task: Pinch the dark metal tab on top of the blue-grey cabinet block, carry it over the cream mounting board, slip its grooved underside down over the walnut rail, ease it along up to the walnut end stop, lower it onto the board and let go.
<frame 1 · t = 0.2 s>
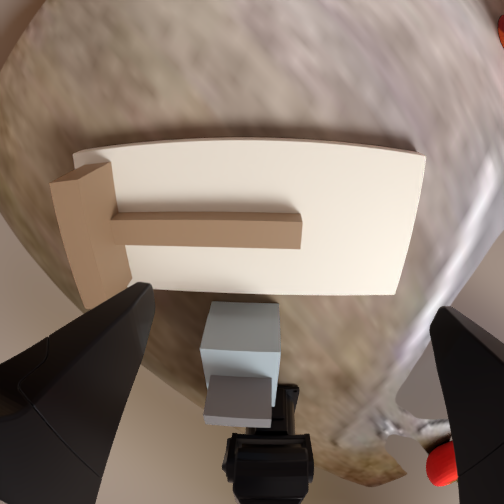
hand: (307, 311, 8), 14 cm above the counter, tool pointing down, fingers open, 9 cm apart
mounting board: (244, 216, 22), on the counter
red bell pepper: (446, 443, 47), on the counter
cabinet block: (245, 332, 28), on the counter
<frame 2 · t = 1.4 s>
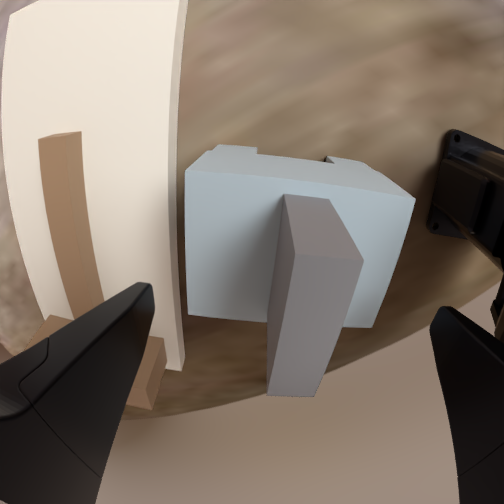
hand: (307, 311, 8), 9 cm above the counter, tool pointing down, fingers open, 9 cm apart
mounting board: (85, 192, 16), on the counter
cabinet block: (285, 205, 16), on the counter
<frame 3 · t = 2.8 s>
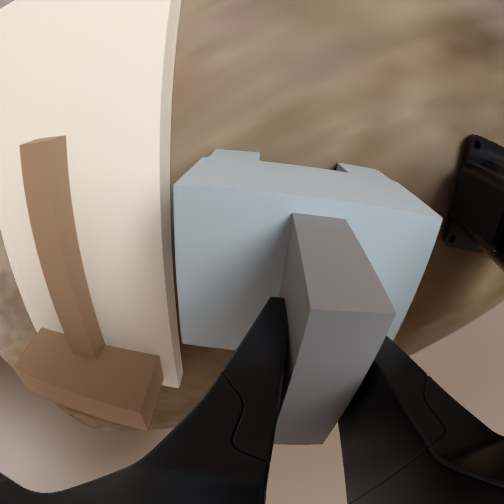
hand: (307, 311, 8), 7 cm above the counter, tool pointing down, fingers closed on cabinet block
mounting board: (73, 201, 14), on the counter
cabinet block: (291, 217, 14), on the counter, touching gripper
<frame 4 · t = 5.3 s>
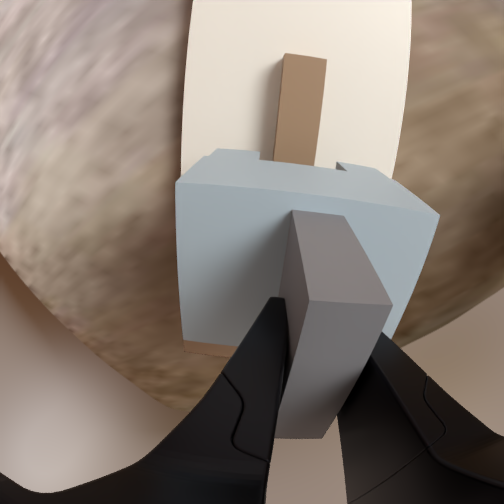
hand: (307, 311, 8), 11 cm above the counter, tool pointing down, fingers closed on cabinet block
mounting board: (292, 128, 16), on the counter
cabinet block: (290, 215, 15), point 4 cm above the counter, touching gripper
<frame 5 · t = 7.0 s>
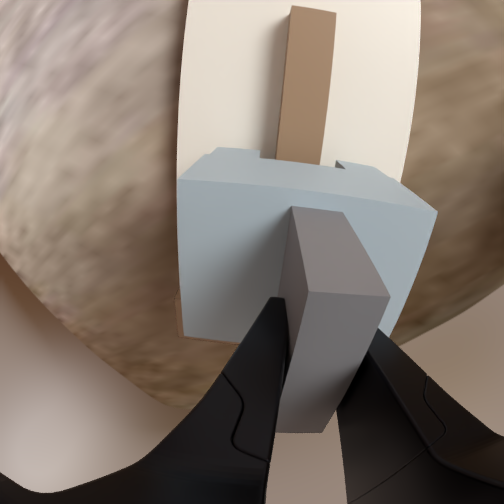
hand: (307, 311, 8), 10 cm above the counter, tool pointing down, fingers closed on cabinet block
mounting board: (299, 90, 14), on the counter
cabinet block: (290, 213, 15), point 3 cm above the counter, touching gripper
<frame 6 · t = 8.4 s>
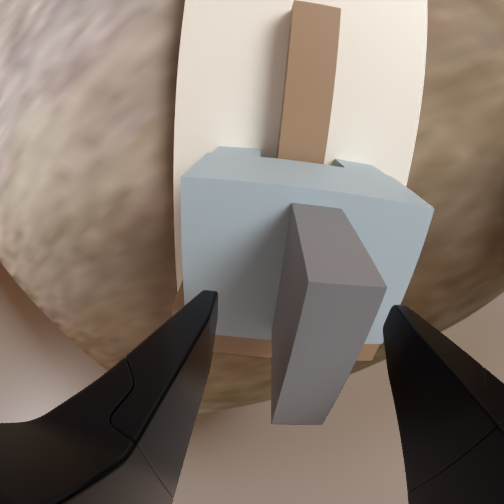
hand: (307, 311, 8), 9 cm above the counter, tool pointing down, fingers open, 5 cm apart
mounting board: (301, 89, 13), on the counter
cabinet block: (290, 211, 15), point 1 cm above the counter, touching mounting board
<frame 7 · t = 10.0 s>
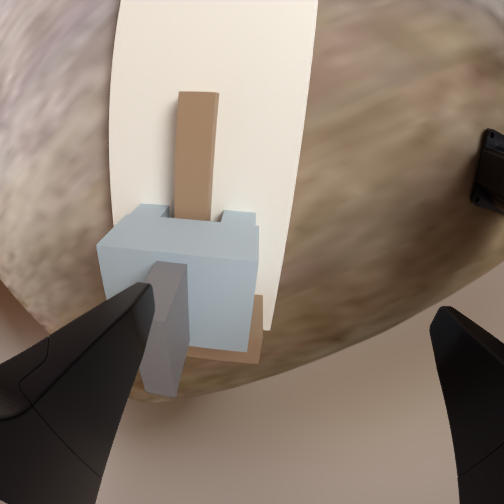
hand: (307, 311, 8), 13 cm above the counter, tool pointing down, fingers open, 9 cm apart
mounting board: (202, 153, 18), on the counter
cabinet block: (195, 248, 20), point 1 cm above the counter, touching mounting board
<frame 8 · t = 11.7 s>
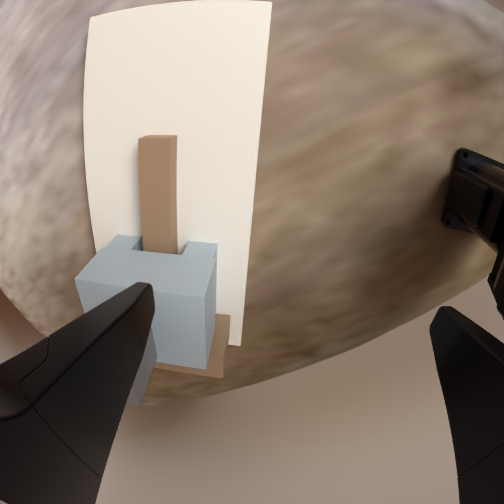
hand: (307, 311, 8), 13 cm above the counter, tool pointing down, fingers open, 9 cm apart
mounting board: (169, 188, 20), on the counter
cabinet block: (167, 274, 22), point 1 cm above the counter, touching mounting board
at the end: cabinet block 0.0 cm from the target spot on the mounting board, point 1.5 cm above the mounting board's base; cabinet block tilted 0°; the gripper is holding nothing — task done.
